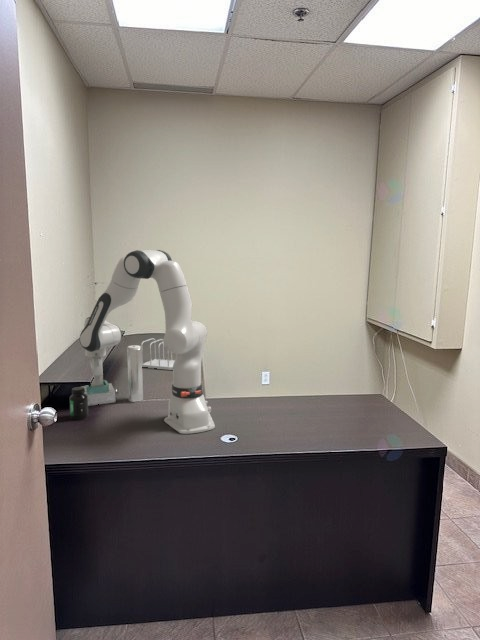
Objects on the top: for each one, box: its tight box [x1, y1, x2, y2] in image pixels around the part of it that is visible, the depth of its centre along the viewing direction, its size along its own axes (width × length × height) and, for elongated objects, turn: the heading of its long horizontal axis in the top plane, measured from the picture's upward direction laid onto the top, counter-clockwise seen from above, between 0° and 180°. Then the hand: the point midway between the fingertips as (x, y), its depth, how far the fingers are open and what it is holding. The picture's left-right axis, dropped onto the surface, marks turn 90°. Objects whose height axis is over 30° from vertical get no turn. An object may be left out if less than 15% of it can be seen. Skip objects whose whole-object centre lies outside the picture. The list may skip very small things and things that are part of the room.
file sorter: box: [140, 337, 177, 371], centre depth 250 cm, size 25×17×16 cm
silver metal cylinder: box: [126, 344, 144, 403], centre depth 188 cm, size 6×6×25 cm
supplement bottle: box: [68, 386, 89, 421], centre depth 167 cm, size 7×7×12 cm
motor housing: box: [80, 379, 119, 407], centre depth 189 cm, size 14×16×8 cm
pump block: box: [91, 375, 104, 387], centre depth 187 cm, size 5×6×6 cm
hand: (96, 381), depth 188 cm, fingers closed on pump block, 5 cm apart
